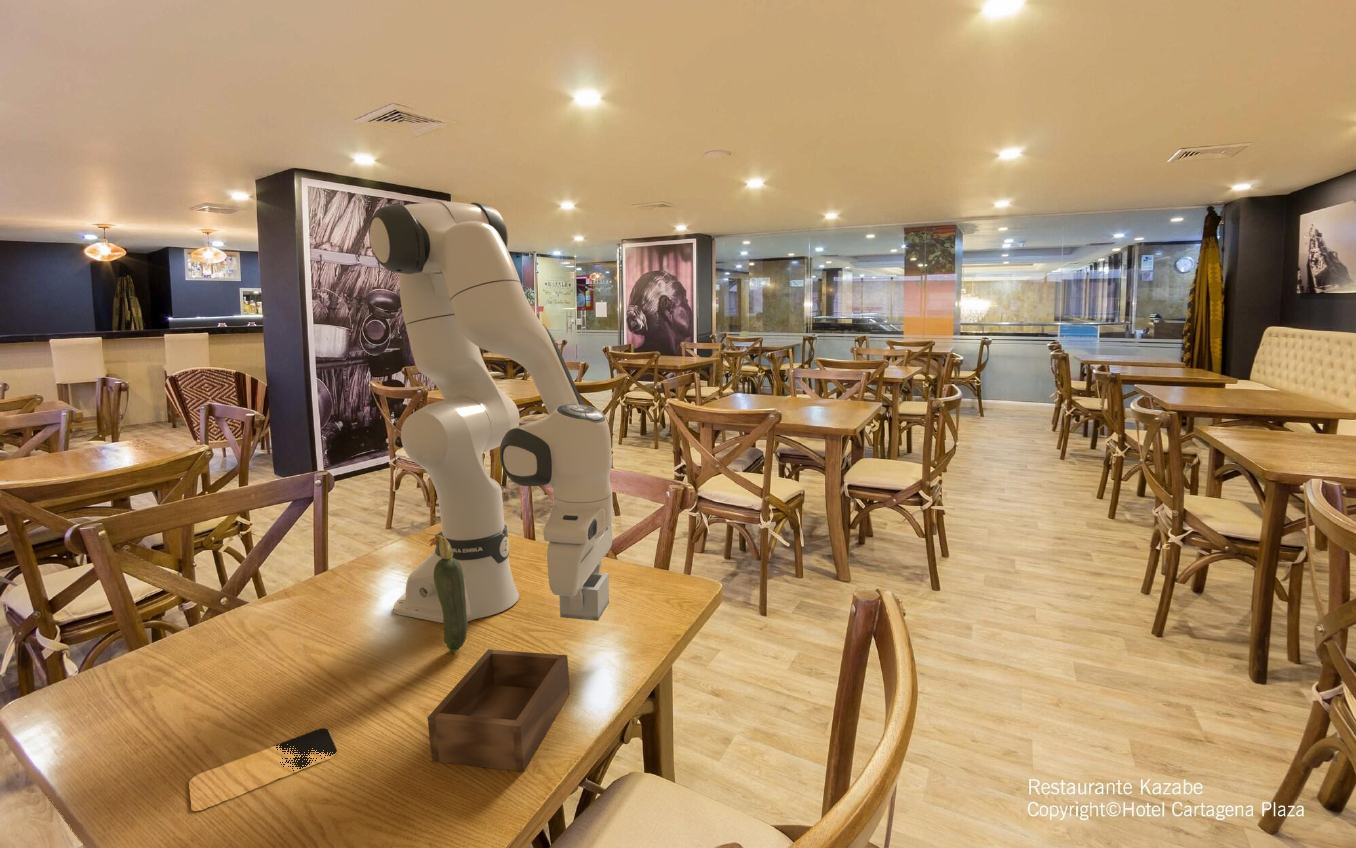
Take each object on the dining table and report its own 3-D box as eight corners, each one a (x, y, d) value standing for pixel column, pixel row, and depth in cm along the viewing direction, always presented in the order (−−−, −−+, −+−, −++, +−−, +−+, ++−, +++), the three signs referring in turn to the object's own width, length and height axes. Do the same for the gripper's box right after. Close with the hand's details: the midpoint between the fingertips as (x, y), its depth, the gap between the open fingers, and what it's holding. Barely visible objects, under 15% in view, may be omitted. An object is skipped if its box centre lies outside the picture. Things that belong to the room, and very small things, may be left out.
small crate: (560, 617, 101) (559, 586, 100) (573, 599, 107) (572, 570, 106) (598, 621, 100) (597, 590, 99) (608, 602, 106) (608, 573, 105)
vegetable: (476, 649, 107) (465, 531, 104) (459, 662, 103) (447, 541, 100) (453, 645, 109) (442, 529, 105) (435, 658, 105) (423, 538, 101)
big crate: (432, 761, 81) (427, 717, 80) (491, 687, 96) (488, 649, 95) (524, 771, 79) (520, 726, 78) (569, 693, 94) (567, 655, 93)
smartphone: (338, 753, 83) (190, 812, 73) (339, 758, 83) (191, 818, 74) (326, 725, 88) (187, 777, 79) (326, 730, 88) (188, 782, 79)
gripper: (584, 491, 111) (586, 568, 113) (538, 534, 91) (541, 626, 93) (621, 493, 109) (621, 571, 112) (582, 537, 90) (584, 631, 92)
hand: (585, 597), depth 103 cm, fingers closed on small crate, 6 cm apart
